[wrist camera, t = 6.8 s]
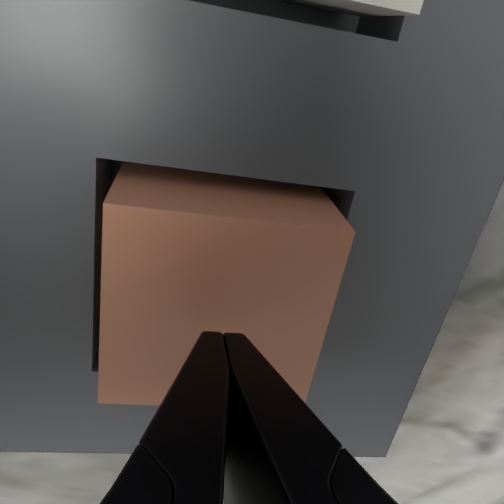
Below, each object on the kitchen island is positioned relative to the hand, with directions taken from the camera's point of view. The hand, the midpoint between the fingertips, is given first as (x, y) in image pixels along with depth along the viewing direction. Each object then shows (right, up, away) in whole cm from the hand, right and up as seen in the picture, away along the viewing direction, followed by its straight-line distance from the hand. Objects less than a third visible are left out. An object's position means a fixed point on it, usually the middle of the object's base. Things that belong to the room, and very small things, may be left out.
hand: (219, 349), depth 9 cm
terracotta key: (0, +2, +3) cm, 4 cm away
